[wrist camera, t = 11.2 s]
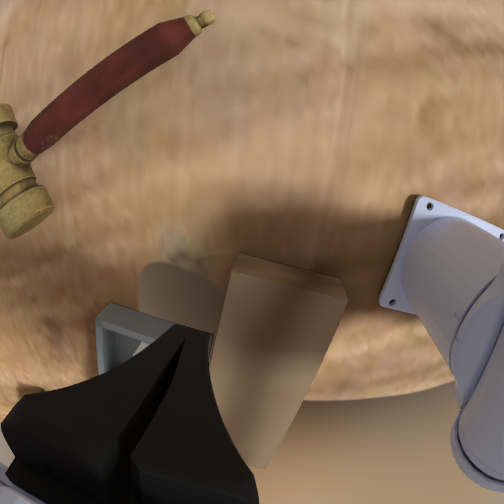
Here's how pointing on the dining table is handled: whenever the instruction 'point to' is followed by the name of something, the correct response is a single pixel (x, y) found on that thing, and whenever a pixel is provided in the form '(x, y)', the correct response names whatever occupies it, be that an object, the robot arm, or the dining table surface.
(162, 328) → the tray
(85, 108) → the gavel
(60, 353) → the dining table surface
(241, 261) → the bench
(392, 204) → the dining table surface
